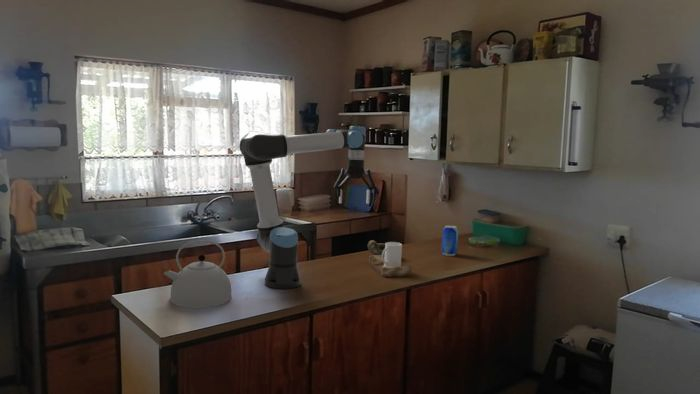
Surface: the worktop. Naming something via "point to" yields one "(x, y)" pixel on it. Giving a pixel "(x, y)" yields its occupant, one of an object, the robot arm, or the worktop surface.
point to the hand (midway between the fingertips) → (354, 203)
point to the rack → (388, 271)
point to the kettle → (200, 283)
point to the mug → (392, 254)
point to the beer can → (449, 240)
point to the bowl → (376, 248)
